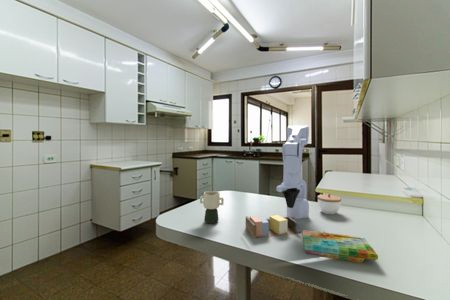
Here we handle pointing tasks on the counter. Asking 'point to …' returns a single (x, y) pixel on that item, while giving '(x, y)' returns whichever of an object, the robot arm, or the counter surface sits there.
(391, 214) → the counter surface
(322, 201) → the lidded jar
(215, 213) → the character mug
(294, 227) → the bookend
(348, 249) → the puzzle game
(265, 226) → the row books
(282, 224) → the pale yellow upright block
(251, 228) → the shelf tray
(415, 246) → the counter surface
